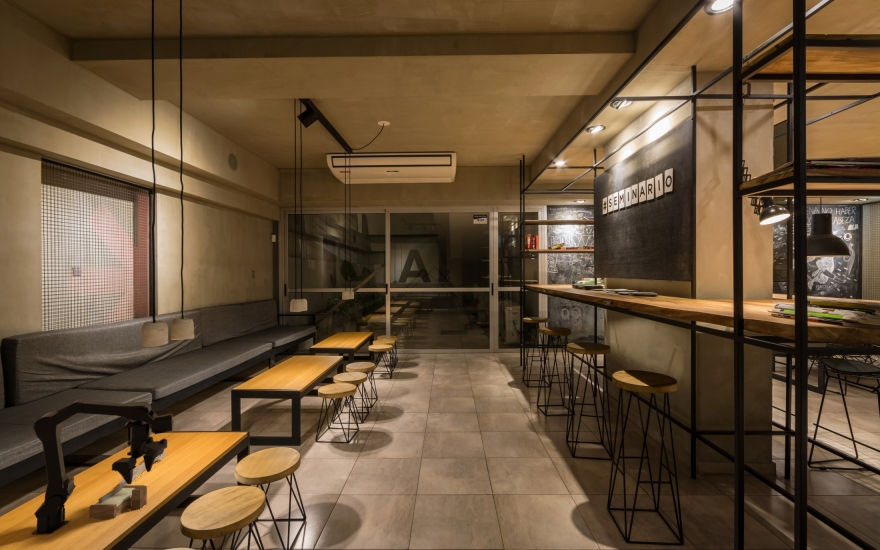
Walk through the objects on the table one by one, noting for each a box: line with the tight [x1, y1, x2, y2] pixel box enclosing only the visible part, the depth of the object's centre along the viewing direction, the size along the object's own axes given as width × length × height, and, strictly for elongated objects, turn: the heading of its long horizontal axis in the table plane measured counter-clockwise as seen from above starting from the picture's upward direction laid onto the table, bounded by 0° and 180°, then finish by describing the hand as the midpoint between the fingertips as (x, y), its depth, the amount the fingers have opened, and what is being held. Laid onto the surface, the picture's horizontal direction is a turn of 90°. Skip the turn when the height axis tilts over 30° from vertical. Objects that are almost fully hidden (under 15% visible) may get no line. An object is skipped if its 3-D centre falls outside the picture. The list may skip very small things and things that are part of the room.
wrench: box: [118, 440, 170, 486], centre depth 169 cm, size 8×2×30 cm
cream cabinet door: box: [93, 485, 135, 506], centre depth 141 cm, size 11×8×2 cm
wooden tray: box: [88, 484, 145, 520], centre depth 141 cm, size 14×9×4 cm, turn 1°
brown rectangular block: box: [131, 485, 148, 510], centre depth 141 cm, size 3×3×7 cm
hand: (139, 477), depth 141 cm, fingers open, 9 cm apart
